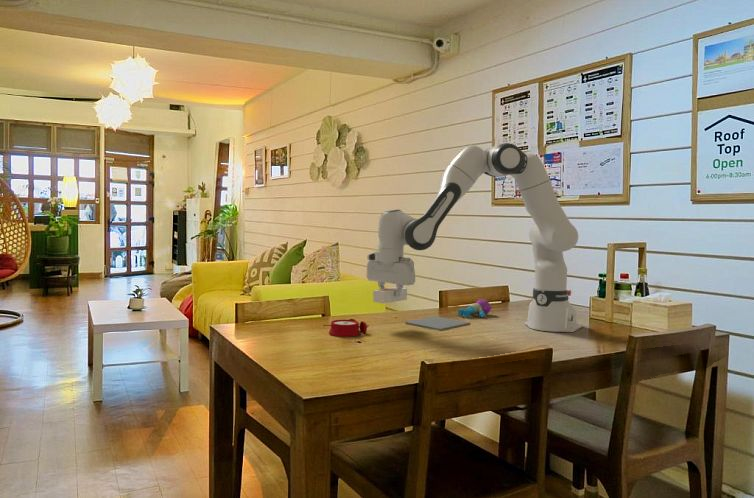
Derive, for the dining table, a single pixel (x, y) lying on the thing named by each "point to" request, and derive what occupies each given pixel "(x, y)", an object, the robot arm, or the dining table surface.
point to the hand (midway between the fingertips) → (390, 295)
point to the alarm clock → (347, 328)
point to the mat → (437, 323)
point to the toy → (476, 309)
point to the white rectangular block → (388, 295)
